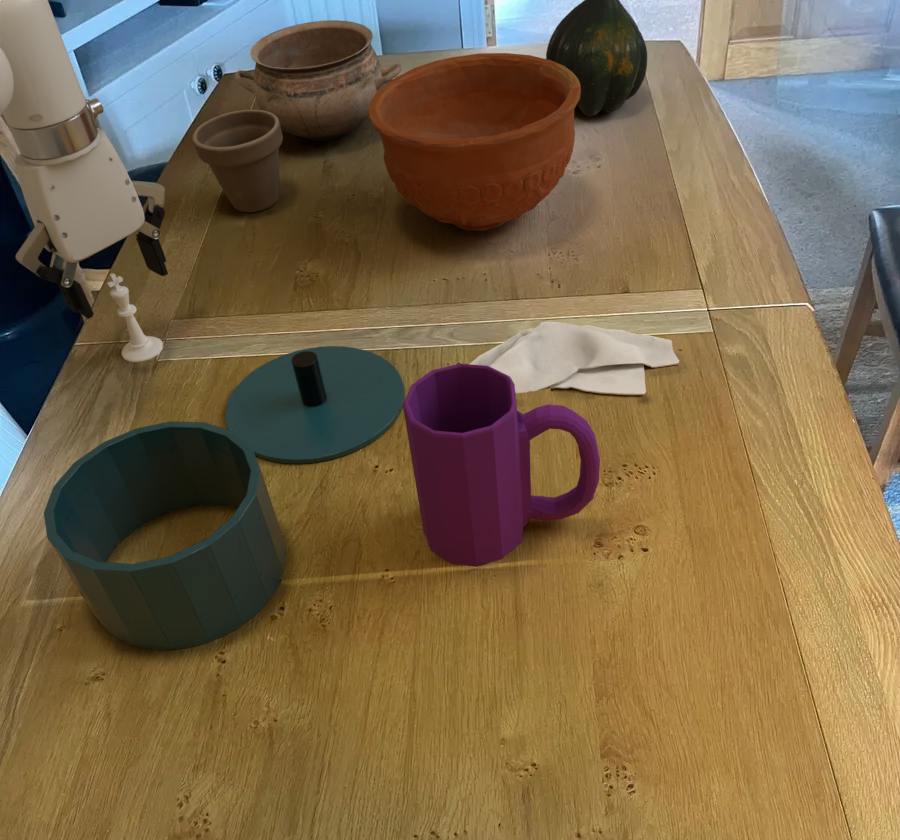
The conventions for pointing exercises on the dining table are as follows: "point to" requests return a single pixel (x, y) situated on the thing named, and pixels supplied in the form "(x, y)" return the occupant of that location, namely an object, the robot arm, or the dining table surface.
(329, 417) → the lid
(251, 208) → the flower pot
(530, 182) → the bowl
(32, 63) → the robot arm
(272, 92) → the cooking pot
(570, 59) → the squash
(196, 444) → the pot
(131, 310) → the chess piece
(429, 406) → the mug
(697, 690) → the dining table surface
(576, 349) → the cloth
